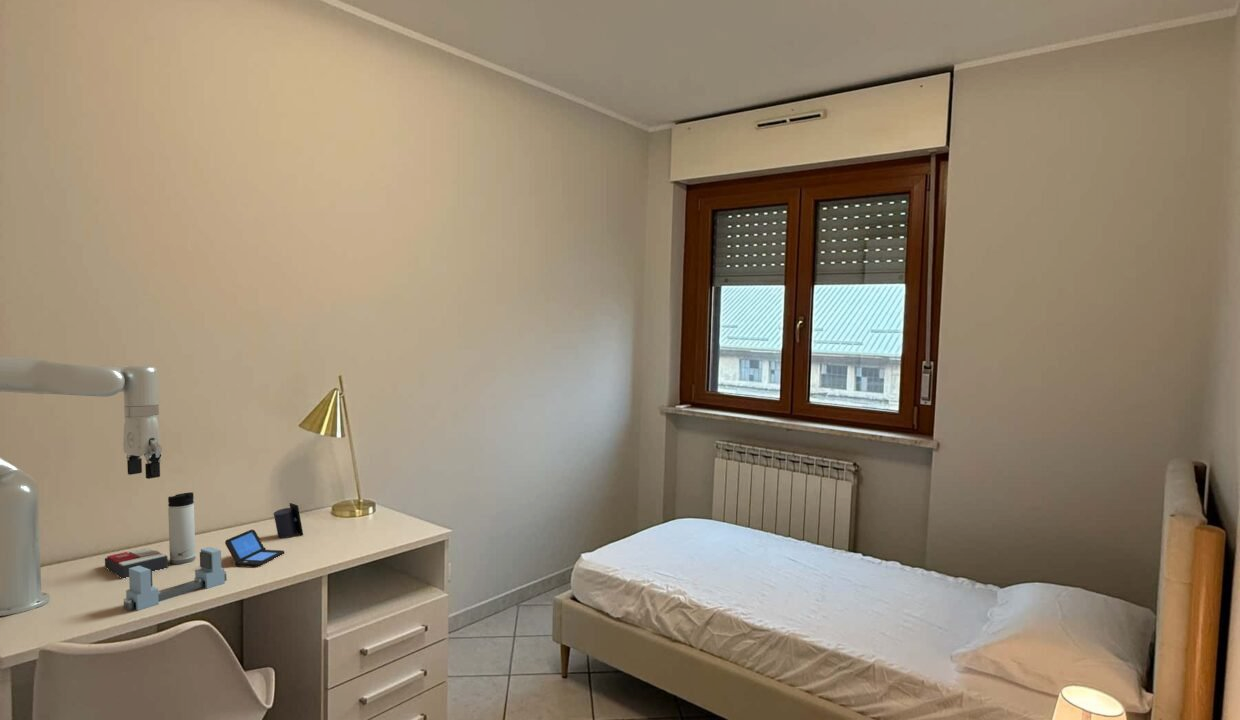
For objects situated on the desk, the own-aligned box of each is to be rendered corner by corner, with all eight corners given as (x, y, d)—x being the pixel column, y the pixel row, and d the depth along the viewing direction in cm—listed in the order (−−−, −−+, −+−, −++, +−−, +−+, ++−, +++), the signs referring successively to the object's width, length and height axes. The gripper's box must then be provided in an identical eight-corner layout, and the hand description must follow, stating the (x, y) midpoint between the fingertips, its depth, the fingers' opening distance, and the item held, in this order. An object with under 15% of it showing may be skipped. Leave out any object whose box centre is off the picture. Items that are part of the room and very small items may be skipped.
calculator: (149, 545, 200) (167, 553, 190) (149, 560, 200) (168, 568, 190) (104, 555, 191) (121, 563, 182) (104, 570, 191) (122, 579, 182)
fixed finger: (158, 604, 165) (157, 567, 164) (137, 610, 161) (136, 573, 160) (147, 599, 167) (146, 563, 167) (126, 605, 164) (125, 569, 163)
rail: (128, 611, 160) (128, 601, 160) (123, 609, 162) (123, 599, 162) (226, 581, 180) (226, 571, 180) (221, 579, 181) (221, 569, 181)
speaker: (301, 530, 225) (297, 500, 224) (303, 535, 220) (299, 505, 219) (276, 536, 222) (272, 505, 220) (277, 541, 217) (273, 510, 215)
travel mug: (184, 565, 193) (181, 496, 192) (164, 563, 194) (162, 494, 193) (201, 557, 199) (199, 490, 198) (182, 556, 200) (180, 489, 199)
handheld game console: (258, 568, 191) (258, 542, 190) (224, 566, 192) (223, 540, 192) (286, 554, 203) (285, 529, 203) (253, 552, 204) (253, 528, 204)
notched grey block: (195, 584, 177) (194, 550, 177) (213, 579, 181) (212, 546, 181) (207, 588, 174) (206, 554, 174) (224, 583, 178) (223, 549, 178)
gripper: (110, 411, 180) (112, 474, 181) (142, 415, 171) (144, 482, 172) (141, 408, 187) (143, 470, 187) (173, 412, 178) (175, 476, 179)
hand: (143, 475), depth 180 cm, fingers open, 9 cm apart
